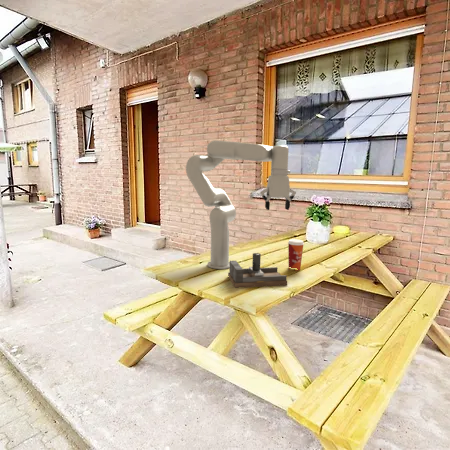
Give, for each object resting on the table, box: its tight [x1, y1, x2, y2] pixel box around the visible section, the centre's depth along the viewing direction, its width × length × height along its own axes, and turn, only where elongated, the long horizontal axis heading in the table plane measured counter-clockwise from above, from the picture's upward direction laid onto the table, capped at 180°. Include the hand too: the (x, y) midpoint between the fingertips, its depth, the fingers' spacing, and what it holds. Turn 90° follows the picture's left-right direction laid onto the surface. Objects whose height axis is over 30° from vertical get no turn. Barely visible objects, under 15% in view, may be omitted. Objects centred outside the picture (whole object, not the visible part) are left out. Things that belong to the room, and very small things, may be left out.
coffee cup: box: [287, 238, 305, 271], centre depth 173 cm, size 8×8×15 cm
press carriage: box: [248, 252, 264, 277], centre depth 154 cm, size 10×4×10 cm, turn 11°
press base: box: [227, 260, 288, 289], centre depth 154 cm, size 15×24×8 cm, turn 101°
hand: (277, 209), depth 158 cm, fingers open, 9 cm apart
